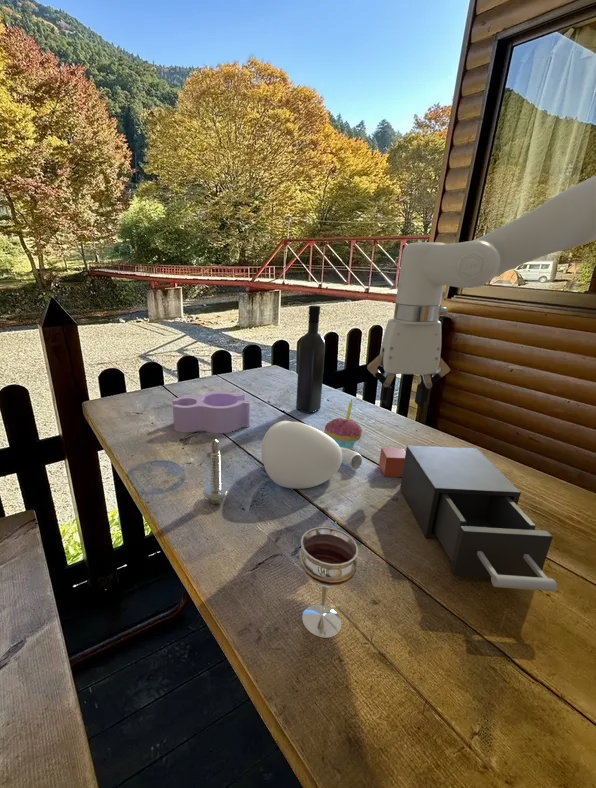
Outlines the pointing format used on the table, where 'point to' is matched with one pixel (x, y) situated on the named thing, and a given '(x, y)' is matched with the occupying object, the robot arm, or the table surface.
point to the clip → (211, 412)
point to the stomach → (303, 455)
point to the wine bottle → (310, 365)
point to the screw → (215, 477)
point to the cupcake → (344, 430)
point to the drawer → (492, 541)
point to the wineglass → (326, 573)
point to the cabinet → (448, 479)
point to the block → (392, 461)
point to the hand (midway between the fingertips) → (402, 403)
